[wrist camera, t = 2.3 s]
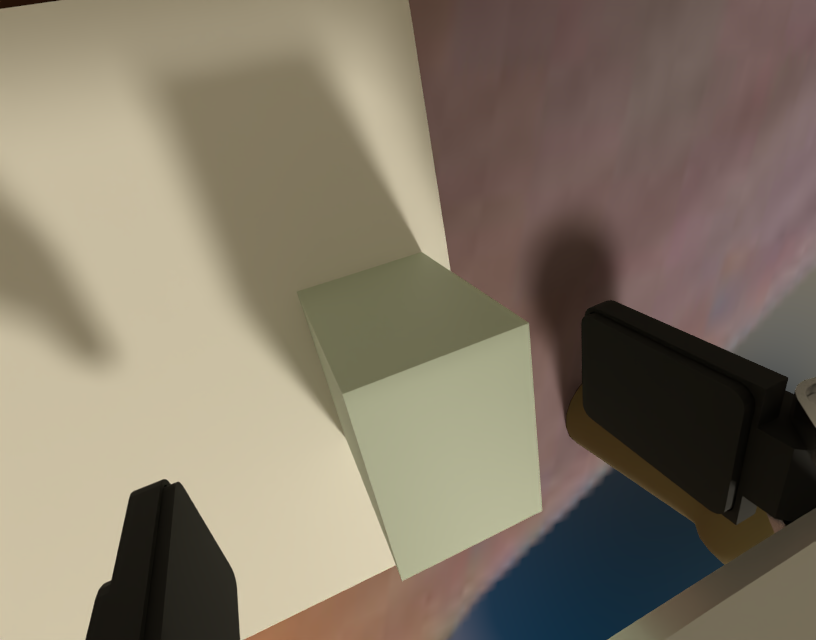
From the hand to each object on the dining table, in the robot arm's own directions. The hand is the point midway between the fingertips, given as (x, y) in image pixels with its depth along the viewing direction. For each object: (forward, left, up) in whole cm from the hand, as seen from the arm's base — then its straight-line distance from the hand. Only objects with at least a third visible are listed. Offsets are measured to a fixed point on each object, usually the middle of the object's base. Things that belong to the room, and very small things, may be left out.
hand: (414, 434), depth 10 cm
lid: (+6, 0, -4) cm, 8 cm away
